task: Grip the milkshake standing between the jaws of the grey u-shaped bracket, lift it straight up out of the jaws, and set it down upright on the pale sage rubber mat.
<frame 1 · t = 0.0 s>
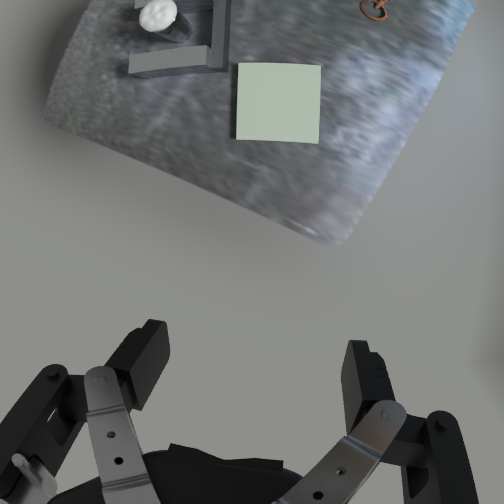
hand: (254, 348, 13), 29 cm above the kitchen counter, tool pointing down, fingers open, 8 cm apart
mat: (278, 102, 36), on the kitchen counter
grey u-shaped bracket: (181, 35, 34), on the kitchen counter
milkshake: (182, 35, 34), on the kitchen counter
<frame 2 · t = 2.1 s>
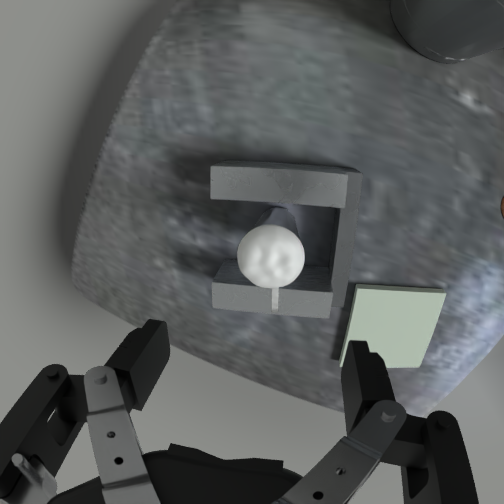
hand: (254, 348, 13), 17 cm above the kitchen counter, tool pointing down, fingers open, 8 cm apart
mat: (391, 327, 31), on the kitchen counter
grey u-shaped bracket: (278, 228, 29), on the kitchen counter
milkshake: (278, 227, 29), on the kitchen counter
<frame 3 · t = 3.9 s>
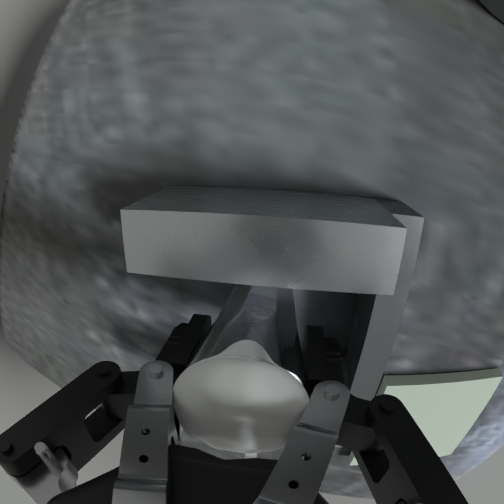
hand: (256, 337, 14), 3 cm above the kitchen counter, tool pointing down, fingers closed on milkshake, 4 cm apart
mat: (423, 419, 19), on the kitchen counter
grey u-shaped bracket: (264, 301, 17), on the kitchen counter
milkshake: (265, 299, 17), on the kitchen counter, touching gripper
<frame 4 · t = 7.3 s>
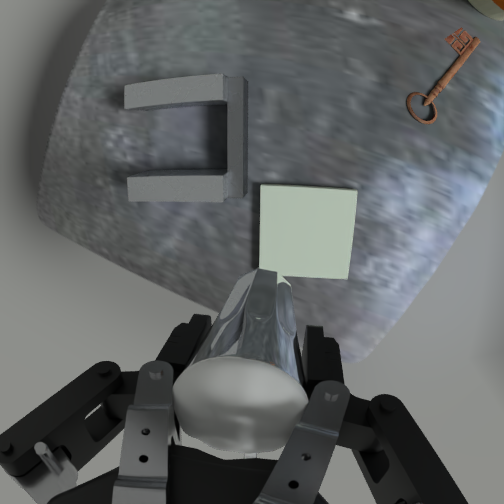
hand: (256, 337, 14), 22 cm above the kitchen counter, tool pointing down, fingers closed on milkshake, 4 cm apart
mat: (306, 231, 34), on the kitchen counter
grey u-shaped bracket: (188, 137, 32), on the kitchen counter
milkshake: (263, 300, 17), point 18 cm above the kitchen counter, touching gripper
key: (441, 69, 25), on the kitchen counter
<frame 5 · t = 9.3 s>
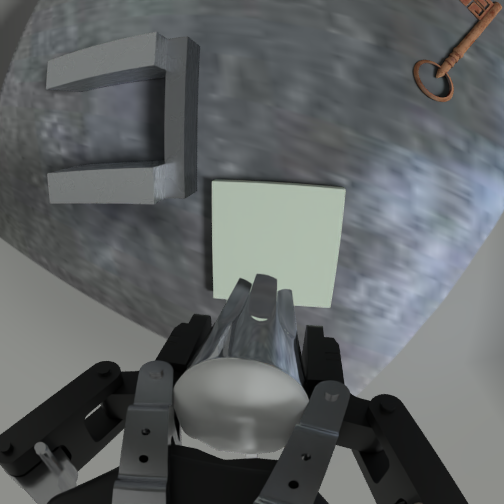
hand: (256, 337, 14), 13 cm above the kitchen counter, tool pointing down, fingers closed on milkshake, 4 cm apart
mat: (275, 243, 26), on the kitchen counter
grey u-shaped bracket: (125, 122, 23), on the kitchen counter
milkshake: (264, 300, 17), point 9 cm above the kitchen counter, touching gripper
key: (457, 35, 17), on the kitchen counter
when the fingers open (5 cm above the kitchen counter, at t = 11.1 s): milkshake stays where it is, resting on mat.
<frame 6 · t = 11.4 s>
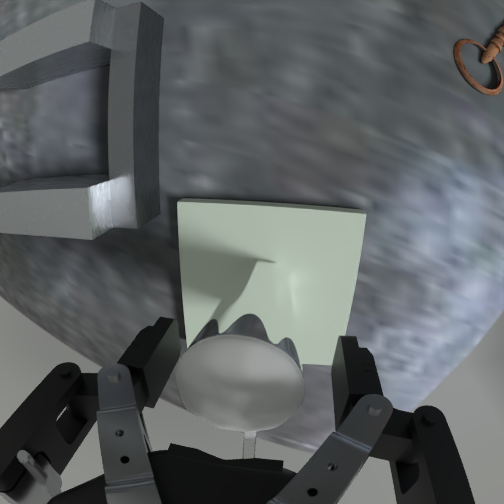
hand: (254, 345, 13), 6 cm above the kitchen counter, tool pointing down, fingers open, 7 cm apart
mat: (267, 285, 19), on the kitchen counter
grey u-shaped bracket: (71, 123, 17), on the kitchen counter
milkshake: (264, 290, 18), point 1 cm above the kitchen counter, touching mat
key: (499, 13, 10), on the kitchen counter
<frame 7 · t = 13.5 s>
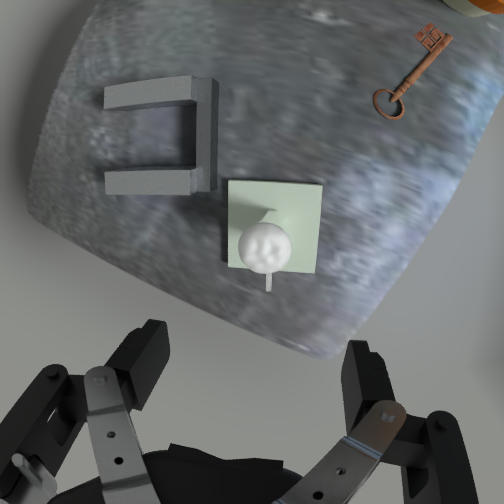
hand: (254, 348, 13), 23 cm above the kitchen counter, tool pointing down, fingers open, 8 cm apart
mat: (273, 225, 35), on the kitchen counter
grey u-shaped bracket: (163, 136, 33), on the kitchen counter
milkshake: (272, 227, 35), point 1 cm above the kitchen counter, touching mat
key: (410, 66, 27), on the kitchen counter
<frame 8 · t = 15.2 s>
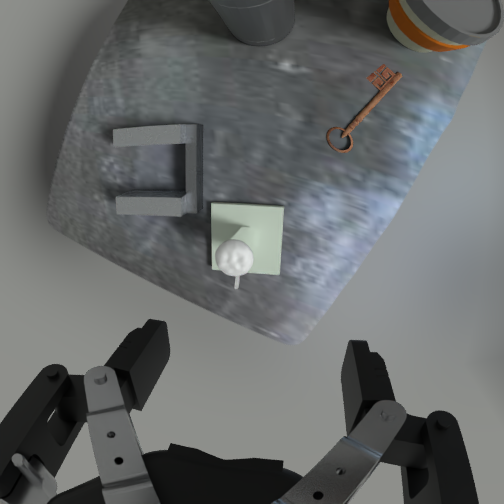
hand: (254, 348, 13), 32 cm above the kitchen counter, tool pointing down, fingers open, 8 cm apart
reusable coffee cup: (414, 25, 31), on the kitchen counter
mat: (247, 237, 46), on the kitchen counter
grey u-shaped bracket: (160, 167, 43), on the kitchen counter
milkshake: (245, 239, 45), point 1 cm above the kitchen counter, touching mat
key: (361, 104, 37), on the kitchen counter
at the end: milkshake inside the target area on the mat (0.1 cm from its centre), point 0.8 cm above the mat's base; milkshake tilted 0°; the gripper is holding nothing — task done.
